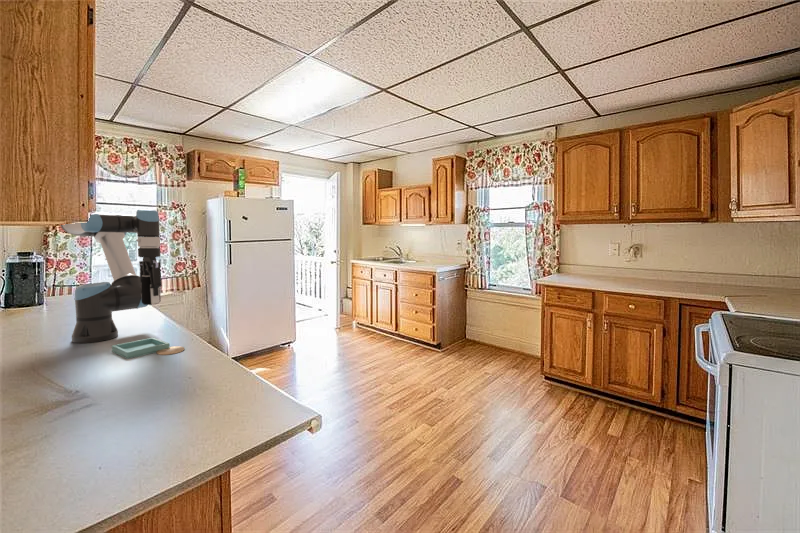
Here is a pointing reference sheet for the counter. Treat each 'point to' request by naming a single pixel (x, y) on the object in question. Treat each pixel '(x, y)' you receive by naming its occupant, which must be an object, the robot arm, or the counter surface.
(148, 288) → the beverage can
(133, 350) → the tray
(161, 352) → the cork coaster
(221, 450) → the counter surface
